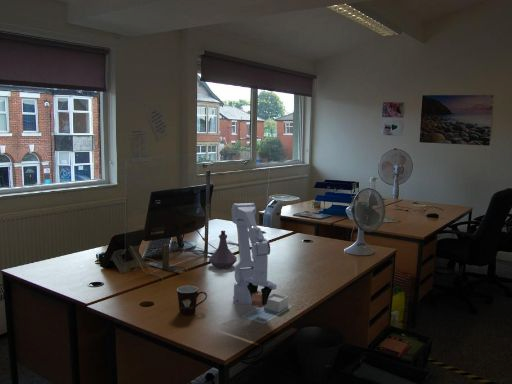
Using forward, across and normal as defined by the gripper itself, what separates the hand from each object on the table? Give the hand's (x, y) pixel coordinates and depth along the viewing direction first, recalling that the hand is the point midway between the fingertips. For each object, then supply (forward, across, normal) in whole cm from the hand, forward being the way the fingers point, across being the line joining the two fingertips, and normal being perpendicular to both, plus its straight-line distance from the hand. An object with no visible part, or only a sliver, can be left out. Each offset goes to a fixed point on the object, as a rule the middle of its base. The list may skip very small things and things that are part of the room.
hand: (259, 302), depth 188 cm
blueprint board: (+6, +1, +6) cm, 8 cm away
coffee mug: (+6, -25, -14) cm, 29 cm away
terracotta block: (+1, 0, 0) cm, 1 cm away
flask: (+7, -54, +44) cm, 70 cm away
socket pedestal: (+5, +1, +11) cm, 12 cm away
